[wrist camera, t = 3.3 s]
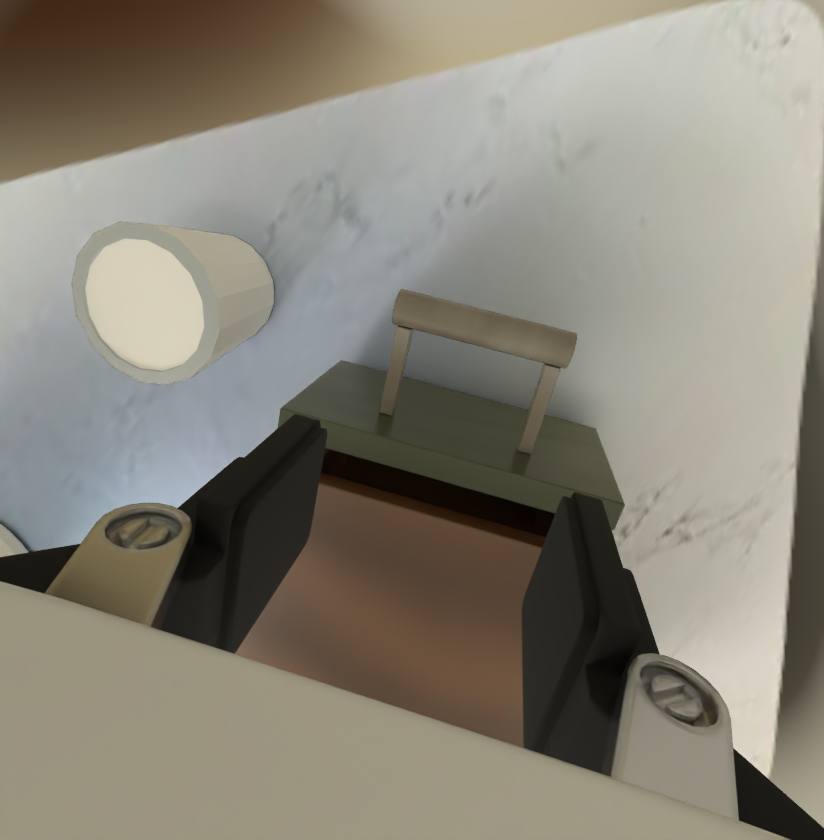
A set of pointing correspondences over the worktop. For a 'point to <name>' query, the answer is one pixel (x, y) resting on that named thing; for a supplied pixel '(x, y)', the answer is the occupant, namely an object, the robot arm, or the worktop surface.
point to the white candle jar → (168, 298)
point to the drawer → (460, 425)
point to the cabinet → (405, 608)
